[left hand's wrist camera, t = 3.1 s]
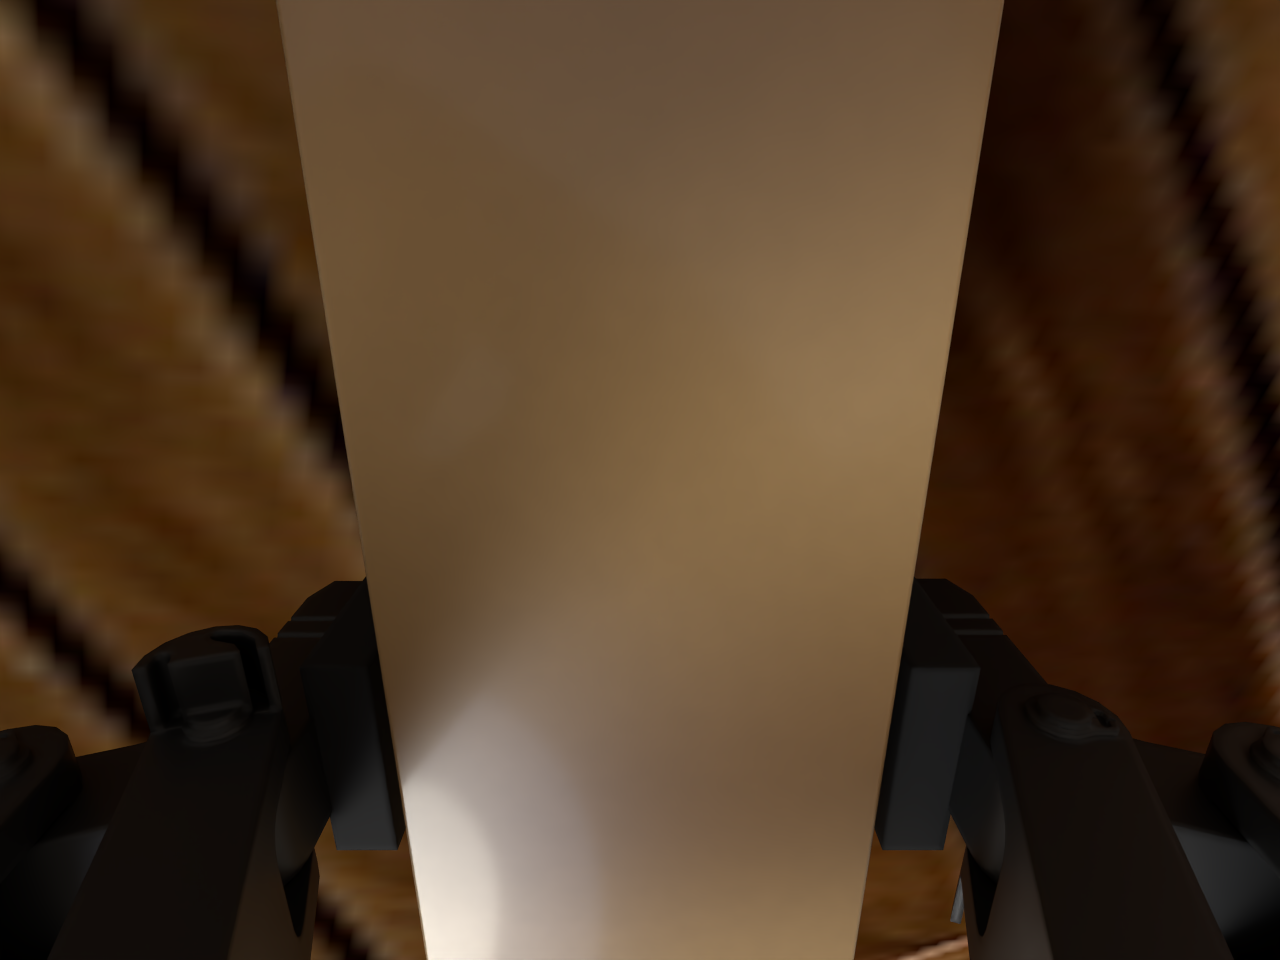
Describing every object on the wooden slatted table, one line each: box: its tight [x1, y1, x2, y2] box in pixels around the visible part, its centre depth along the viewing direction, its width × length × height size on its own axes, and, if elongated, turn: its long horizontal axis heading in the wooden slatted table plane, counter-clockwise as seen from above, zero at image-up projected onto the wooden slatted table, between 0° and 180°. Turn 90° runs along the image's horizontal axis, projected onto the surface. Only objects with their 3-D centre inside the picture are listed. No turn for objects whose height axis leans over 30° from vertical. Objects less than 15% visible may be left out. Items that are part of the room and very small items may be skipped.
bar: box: [276, 0, 1004, 960], centre depth 8 cm, size 22×5×8 cm, turn 0°
